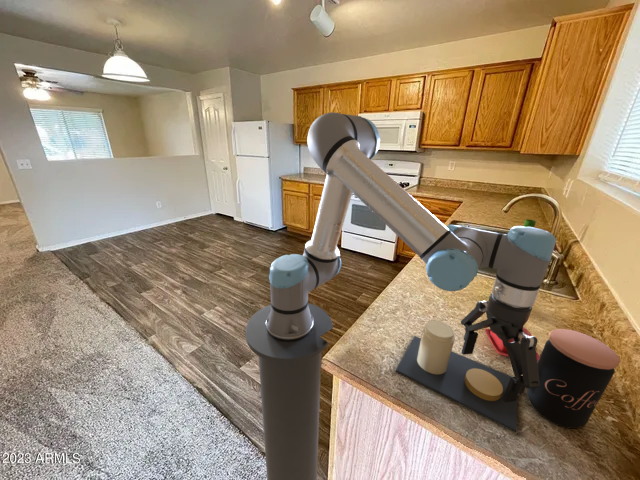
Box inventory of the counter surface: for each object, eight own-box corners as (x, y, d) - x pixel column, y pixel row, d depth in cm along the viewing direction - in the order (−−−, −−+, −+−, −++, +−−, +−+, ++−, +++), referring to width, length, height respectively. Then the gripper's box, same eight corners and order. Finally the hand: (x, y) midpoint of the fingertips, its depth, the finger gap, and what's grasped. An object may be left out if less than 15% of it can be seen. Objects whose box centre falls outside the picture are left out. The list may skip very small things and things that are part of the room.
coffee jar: (527, 414, 59) (554, 351, 53) (522, 380, 67) (545, 322, 61) (591, 442, 54) (630, 375, 47) (578, 401, 62) (609, 340, 56)
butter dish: (543, 365, 72) (553, 340, 69) (497, 358, 74) (505, 334, 71) (521, 336, 83) (529, 314, 80) (481, 331, 85) (488, 309, 82)
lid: (509, 398, 62) (511, 393, 61) (479, 403, 61) (481, 398, 60) (484, 371, 69) (486, 366, 68) (457, 375, 68) (459, 370, 67)
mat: (395, 371, 69) (396, 369, 69) (414, 337, 81) (414, 335, 81) (516, 432, 55) (516, 430, 55) (516, 380, 67) (517, 378, 67)
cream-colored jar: (413, 365, 70) (420, 330, 66) (421, 348, 76) (428, 315, 72) (443, 379, 66) (452, 343, 62) (449, 360, 72) (458, 326, 68)
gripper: (457, 272, 67) (441, 339, 74) (553, 342, 44) (516, 429, 52) (483, 271, 68) (465, 337, 76) (590, 338, 45) (548, 423, 53)
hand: (485, 374), depth 64 cm, fingers open, 13 cm apart
